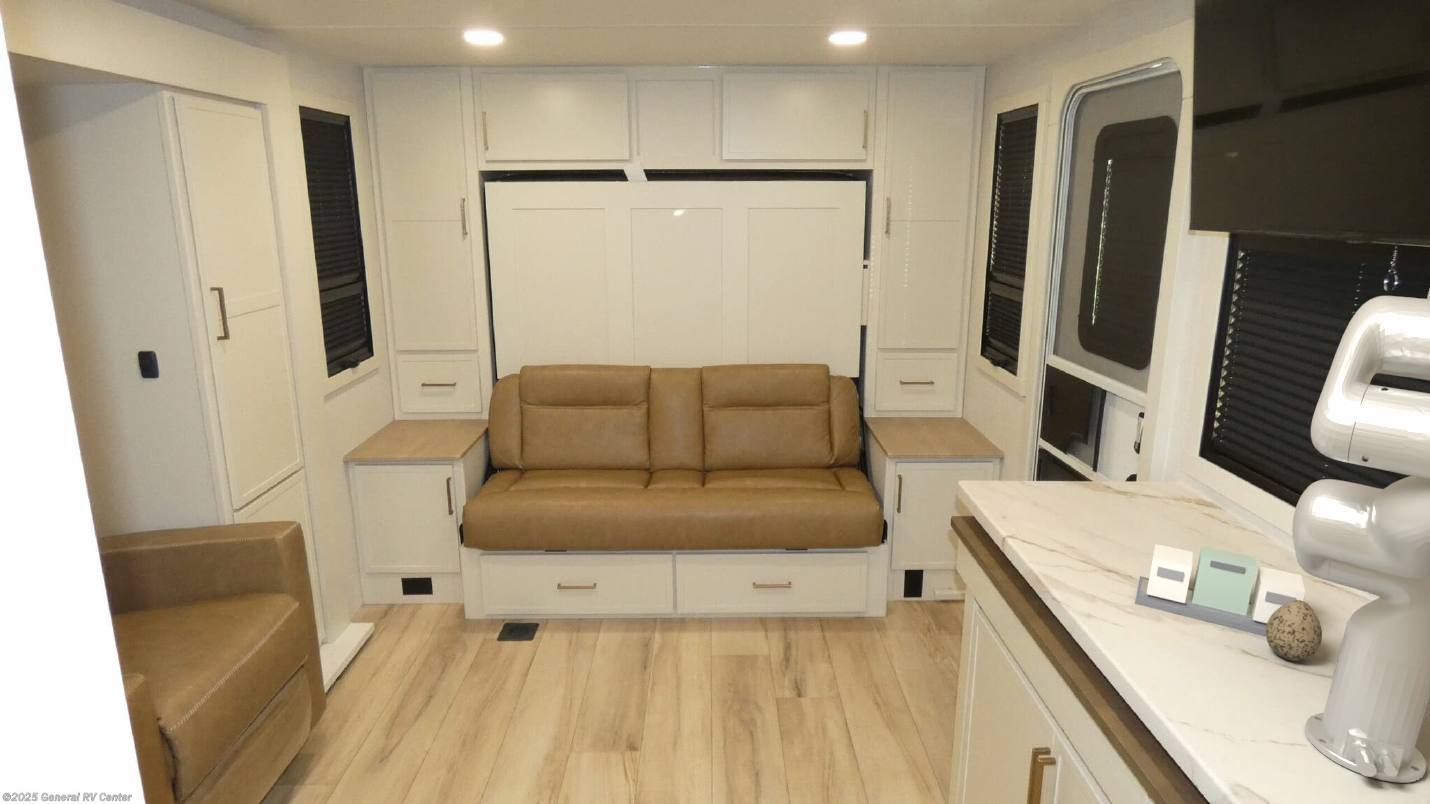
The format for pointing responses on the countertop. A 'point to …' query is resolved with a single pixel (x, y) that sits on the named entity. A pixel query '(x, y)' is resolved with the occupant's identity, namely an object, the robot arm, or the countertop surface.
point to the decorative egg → (1294, 631)
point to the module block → (1224, 580)
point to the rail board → (1175, 596)
